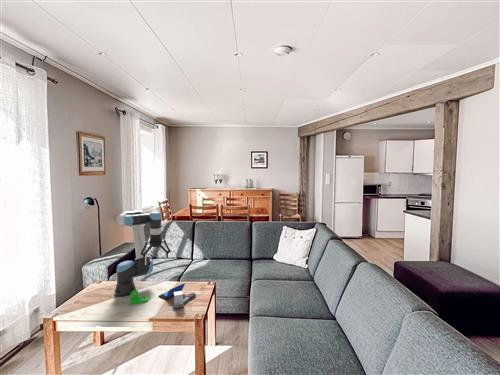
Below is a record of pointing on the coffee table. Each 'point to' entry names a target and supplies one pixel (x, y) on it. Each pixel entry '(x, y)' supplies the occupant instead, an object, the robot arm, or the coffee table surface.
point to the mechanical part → (137, 298)
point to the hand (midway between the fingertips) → (155, 263)
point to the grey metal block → (178, 298)
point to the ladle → (184, 301)
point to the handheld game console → (171, 292)
